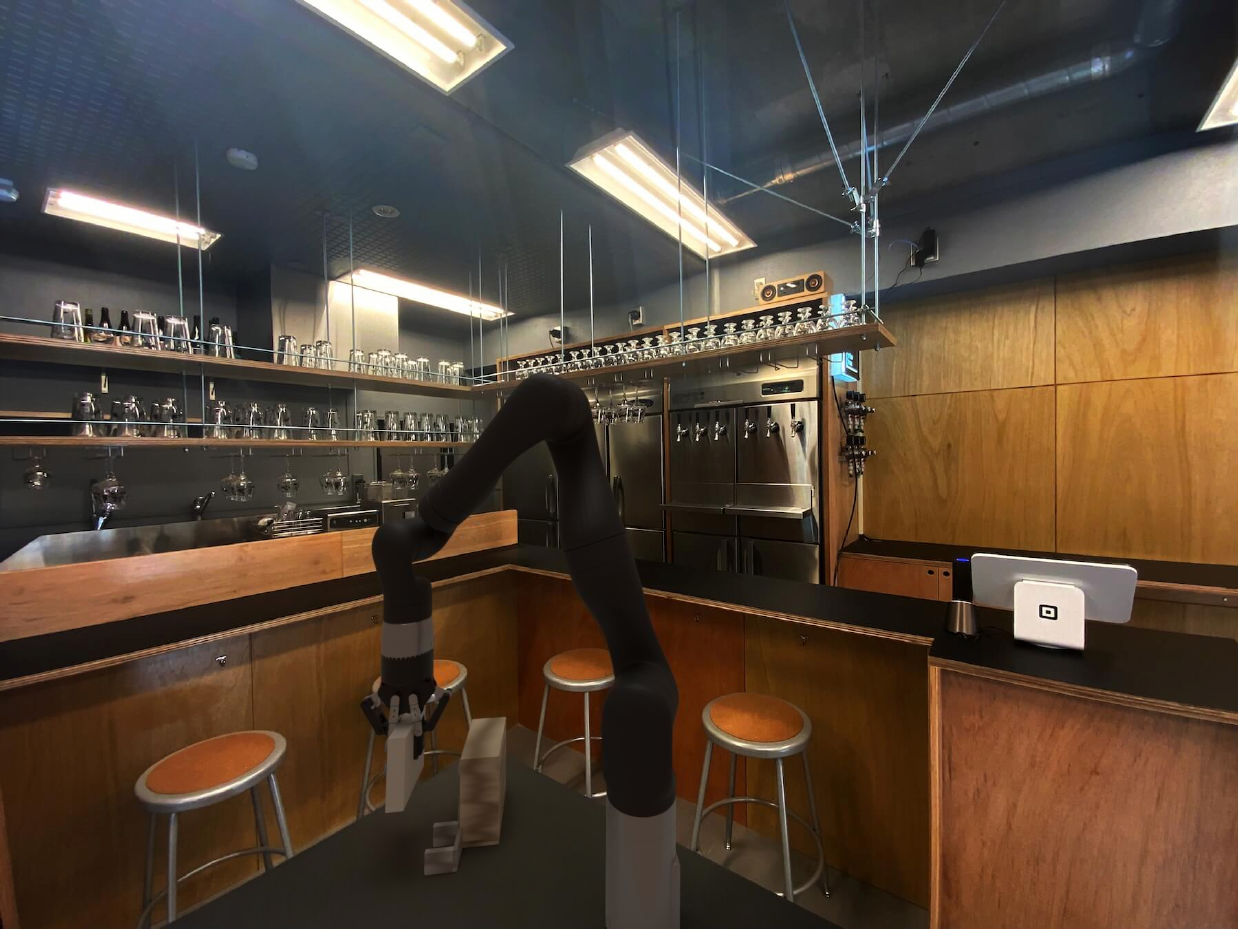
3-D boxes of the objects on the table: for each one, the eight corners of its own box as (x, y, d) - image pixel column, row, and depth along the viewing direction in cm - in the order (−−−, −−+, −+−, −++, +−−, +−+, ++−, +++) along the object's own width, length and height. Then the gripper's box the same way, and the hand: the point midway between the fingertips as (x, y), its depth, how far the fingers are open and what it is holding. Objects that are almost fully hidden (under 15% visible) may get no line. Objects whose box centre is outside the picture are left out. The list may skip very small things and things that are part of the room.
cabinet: (505, 792, 87) (506, 717, 87) (495, 867, 71) (496, 774, 71) (448, 798, 86) (448, 721, 86) (424, 875, 69) (425, 780, 70)
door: (403, 811, 67) (405, 737, 68) (376, 814, 67) (378, 740, 68) (423, 766, 79) (425, 703, 80) (401, 768, 78) (402, 705, 79)
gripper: (350, 658, 69) (349, 778, 68) (449, 652, 71) (449, 768, 71) (368, 640, 76) (368, 747, 76) (458, 635, 78) (457, 740, 78)
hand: (407, 757), depth 73 cm, fingers closed on door, 2 cm apart
